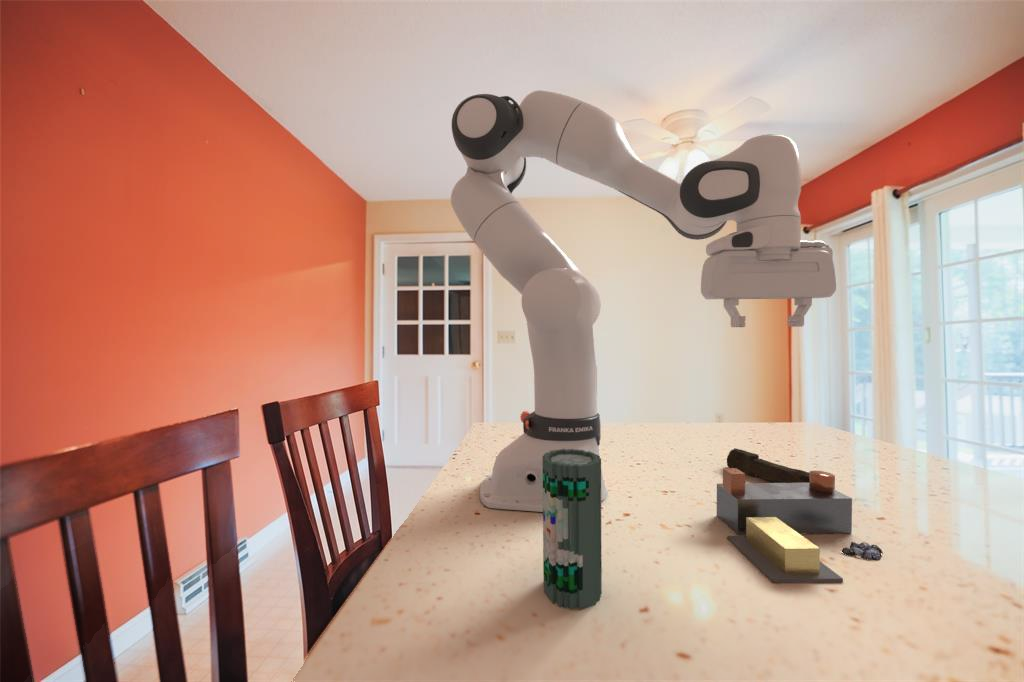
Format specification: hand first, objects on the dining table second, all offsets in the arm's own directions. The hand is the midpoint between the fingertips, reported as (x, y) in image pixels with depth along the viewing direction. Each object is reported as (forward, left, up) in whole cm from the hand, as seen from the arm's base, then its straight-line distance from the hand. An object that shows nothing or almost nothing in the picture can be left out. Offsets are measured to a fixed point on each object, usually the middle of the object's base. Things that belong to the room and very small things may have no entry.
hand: (766, 327), depth 67 cm
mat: (-8, -16, -29) cm, 34 cm away
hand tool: (+7, +10, -30) cm, 32 cm away
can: (-35, -22, -29) cm, 51 cm away
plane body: (-2, -7, -29) cm, 30 cm away
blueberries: (+4, -14, -30) cm, 33 cm away
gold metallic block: (-8, -16, -29) cm, 34 cm away
